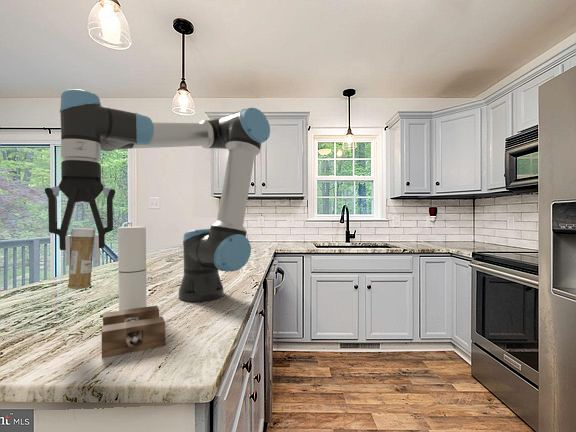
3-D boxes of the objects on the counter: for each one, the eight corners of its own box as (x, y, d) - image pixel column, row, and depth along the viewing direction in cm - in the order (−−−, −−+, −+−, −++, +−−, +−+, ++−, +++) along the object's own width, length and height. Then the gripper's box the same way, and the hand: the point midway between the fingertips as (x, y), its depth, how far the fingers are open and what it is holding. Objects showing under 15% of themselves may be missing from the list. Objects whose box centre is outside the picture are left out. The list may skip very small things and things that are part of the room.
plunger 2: (139, 335, 71) (139, 324, 71) (141, 345, 66) (141, 333, 66) (127, 337, 70) (127, 326, 70) (128, 347, 64) (128, 336, 64)
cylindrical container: (118, 319, 85) (117, 227, 85) (119, 312, 92) (118, 226, 92) (147, 315, 89) (146, 227, 89) (145, 308, 95) (145, 226, 95)
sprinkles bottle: (91, 288, 71) (95, 229, 71) (66, 290, 68) (71, 228, 69) (90, 284, 74) (95, 228, 75) (67, 285, 72) (72, 227, 72)
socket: (157, 324, 82) (156, 305, 82) (165, 345, 69) (165, 322, 69) (103, 332, 76) (103, 312, 76) (101, 357, 63) (101, 332, 63)
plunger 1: (136, 321, 80) (136, 311, 80) (138, 329, 75) (138, 319, 75) (125, 322, 79) (125, 313, 79) (126, 331, 74) (126, 320, 73)
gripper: (27, 155, 64) (29, 269, 64) (126, 161, 72) (127, 262, 73) (35, 160, 70) (37, 264, 71) (125, 166, 79) (126, 258, 79)
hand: (83, 263), depth 72 cm, fingers closed on sprinkles bottle, 5 cm apart
